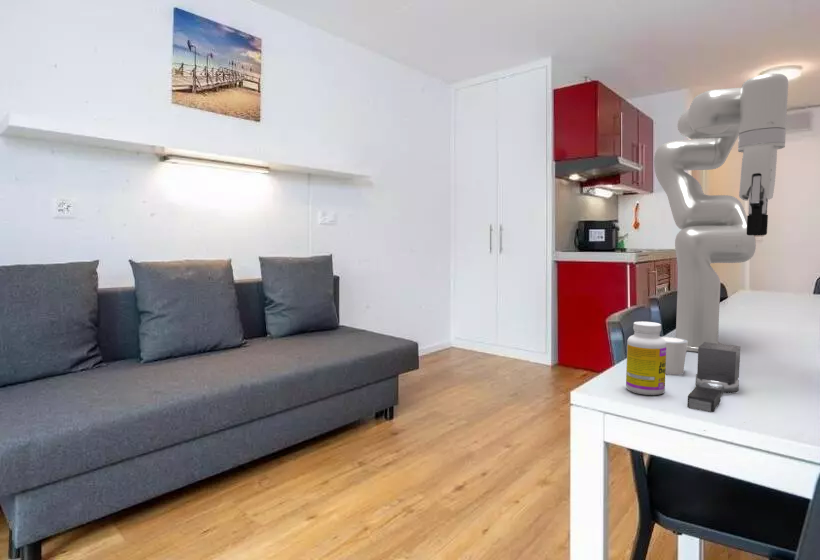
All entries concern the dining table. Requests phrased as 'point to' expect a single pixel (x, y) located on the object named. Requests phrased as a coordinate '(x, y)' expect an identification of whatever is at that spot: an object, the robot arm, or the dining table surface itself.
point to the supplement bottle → (646, 359)
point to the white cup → (675, 355)
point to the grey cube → (718, 362)
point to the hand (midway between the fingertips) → (756, 235)
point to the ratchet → (709, 394)
